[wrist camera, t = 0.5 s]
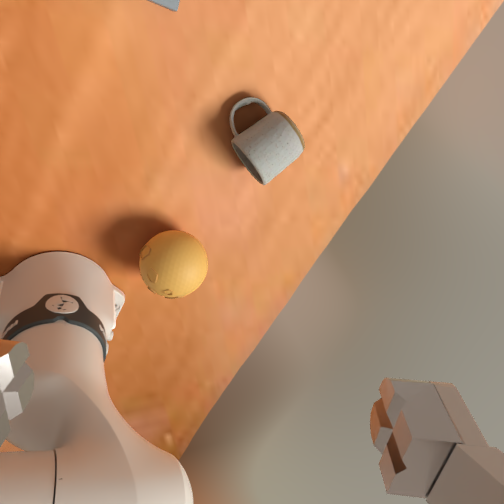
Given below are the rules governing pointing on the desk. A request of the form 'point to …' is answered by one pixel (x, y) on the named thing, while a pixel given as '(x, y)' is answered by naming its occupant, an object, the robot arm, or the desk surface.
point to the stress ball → (173, 264)
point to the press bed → (167, 4)
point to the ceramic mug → (266, 142)
